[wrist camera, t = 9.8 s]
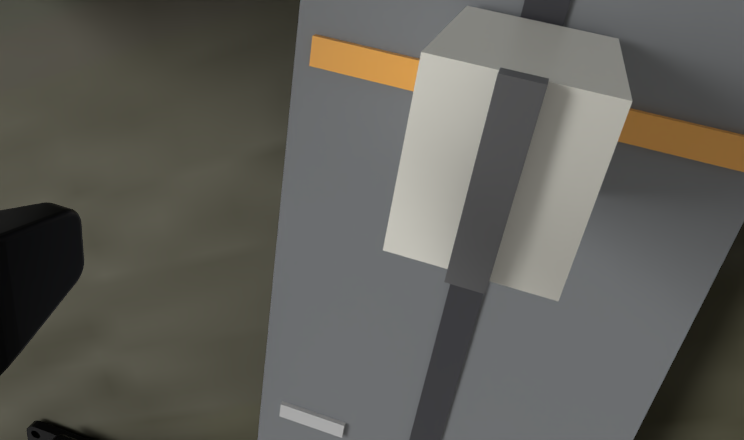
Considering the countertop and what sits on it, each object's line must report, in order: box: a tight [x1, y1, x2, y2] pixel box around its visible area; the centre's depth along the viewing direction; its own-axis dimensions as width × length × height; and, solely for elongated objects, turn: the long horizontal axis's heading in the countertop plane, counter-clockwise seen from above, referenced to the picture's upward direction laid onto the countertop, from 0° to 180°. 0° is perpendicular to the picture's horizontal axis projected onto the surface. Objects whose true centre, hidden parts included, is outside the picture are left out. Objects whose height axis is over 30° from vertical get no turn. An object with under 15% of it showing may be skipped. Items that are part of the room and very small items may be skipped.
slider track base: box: [258, 0, 744, 440], centre depth 20 cm, size 23×12×2 cm, turn 171°
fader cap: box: [383, 6, 632, 301], centre depth 14 cm, size 4×4×5 cm
